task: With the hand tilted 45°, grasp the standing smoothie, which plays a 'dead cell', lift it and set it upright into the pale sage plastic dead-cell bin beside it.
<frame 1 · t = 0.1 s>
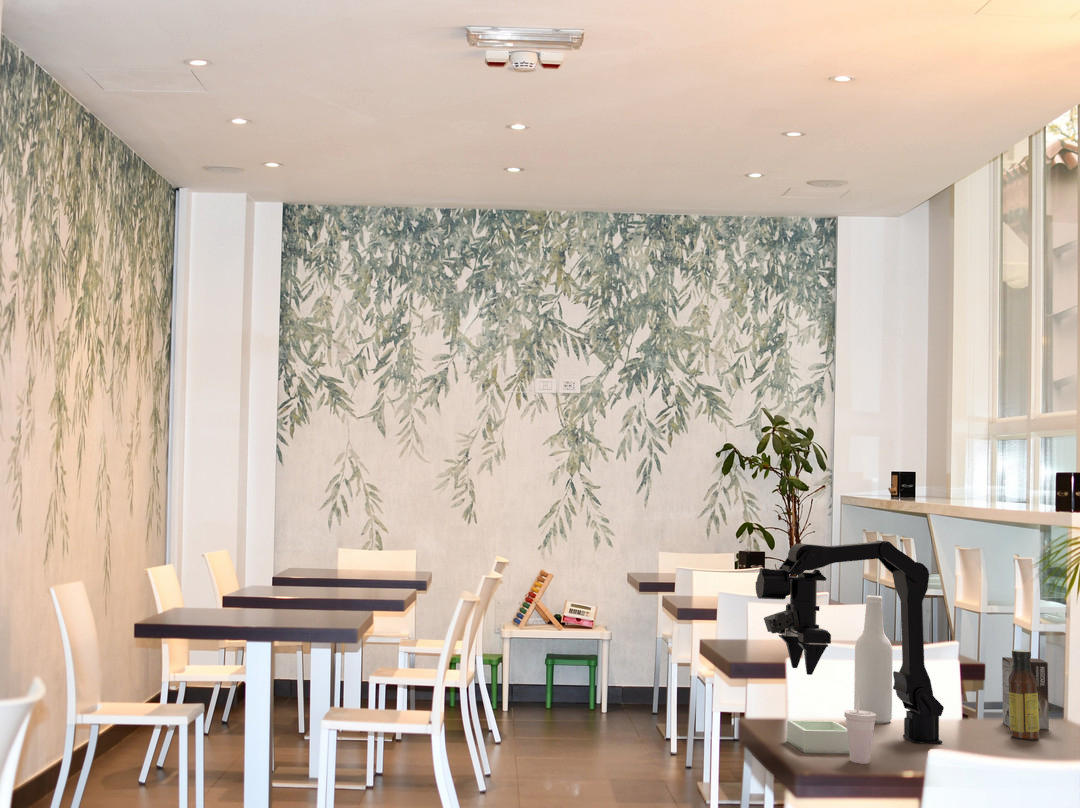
hand: (801, 671, 238), 15 cm above the table, tool pointing down, fingers open, 9 cm apart
smoothie: (859, 762, 218), on the table
dead-cell bin: (819, 747, 229), on the table
alcohol: (872, 721, 262), on the table
sauce bottle: (1023, 738, 248), on the table
coffee box: (1025, 727, 262), on the table
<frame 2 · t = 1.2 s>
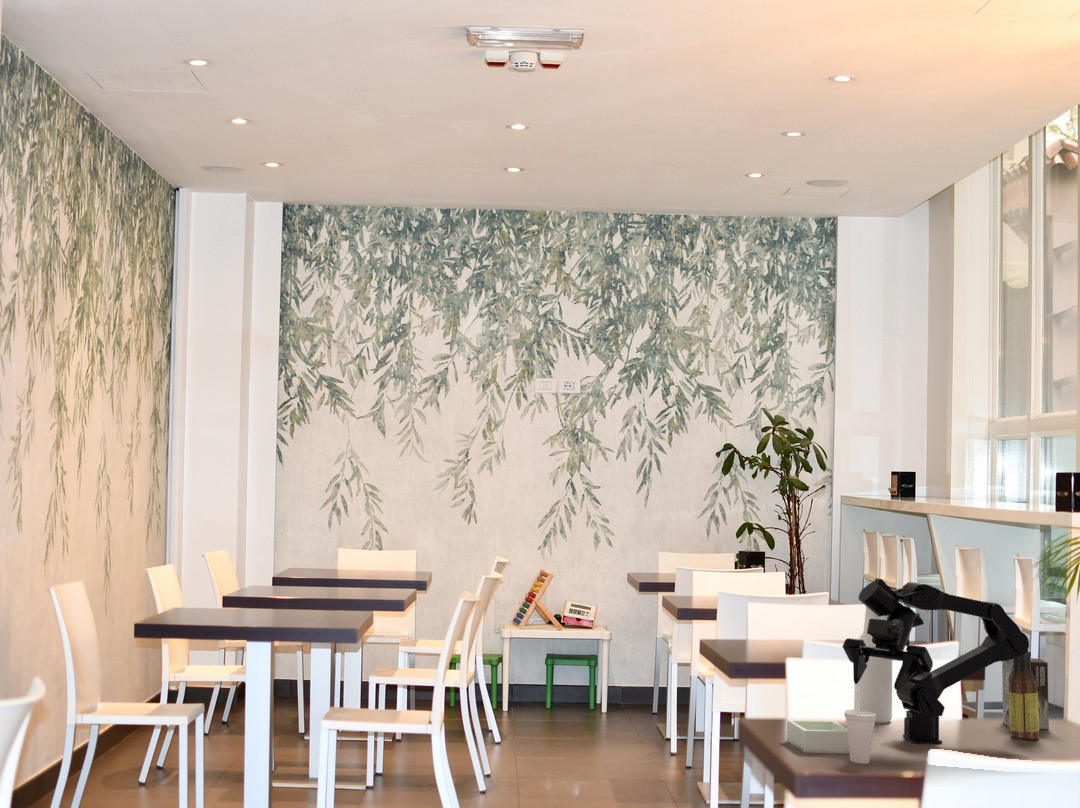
hand: (874, 685, 231), 13 cm above the table, tool tilted 45°, fingers open, 9 cm apart
nothing on the table moved.
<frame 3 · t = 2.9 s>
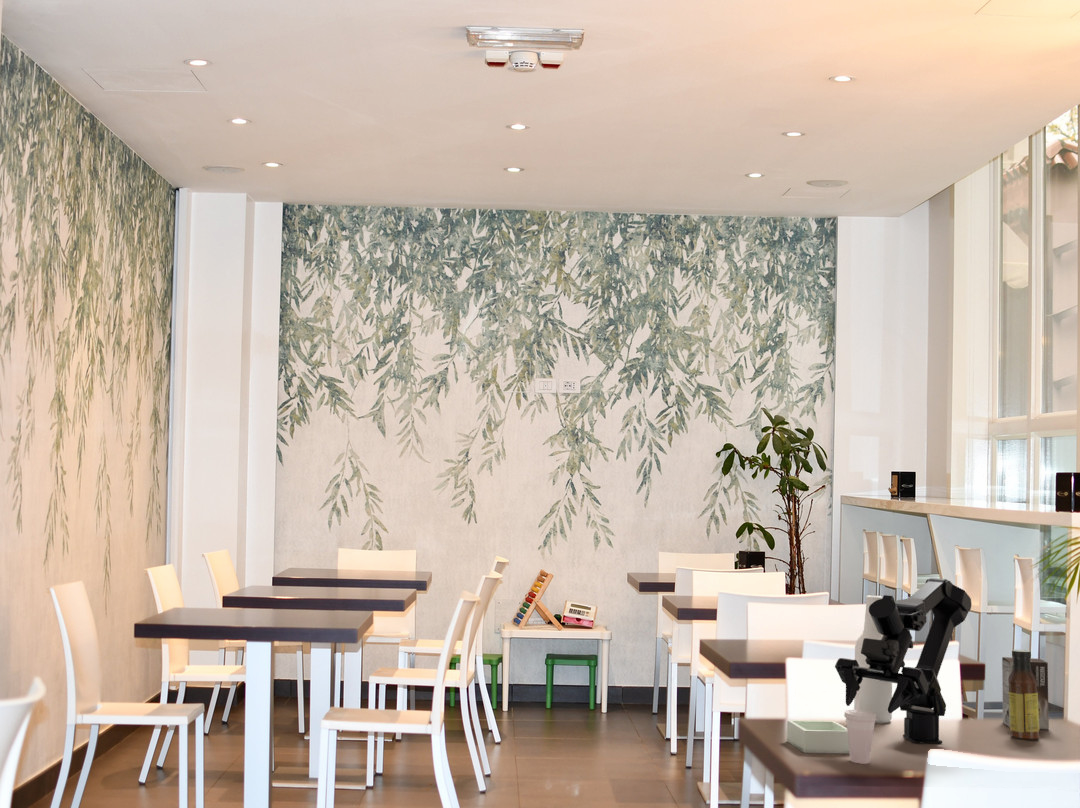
hand: (867, 708, 221), 10 cm above the table, tool tilted 45°, fingers open, 9 cm apart
nothing on the table moved.
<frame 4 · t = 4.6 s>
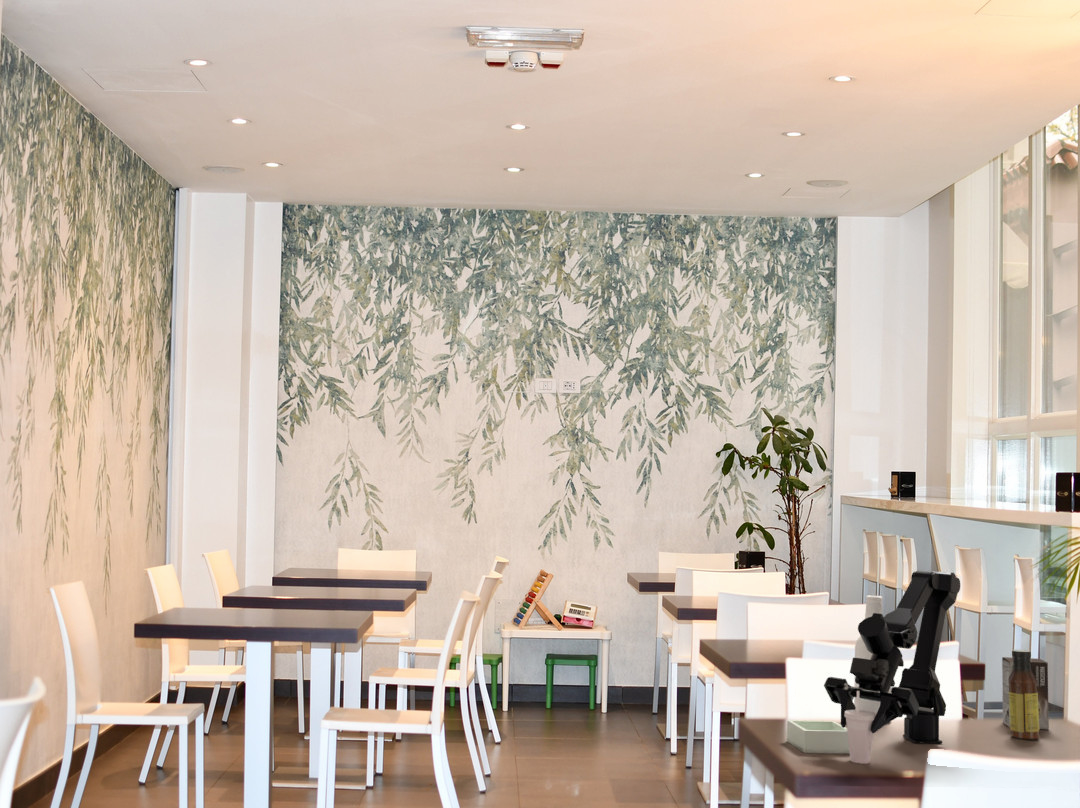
hand: (857, 729, 217), 7 cm above the table, tool tilted 45°, fingers closed on smoothie, 6 cm apart
smoothie: (859, 762, 218), on the table, touching gripper
everything else where it was.
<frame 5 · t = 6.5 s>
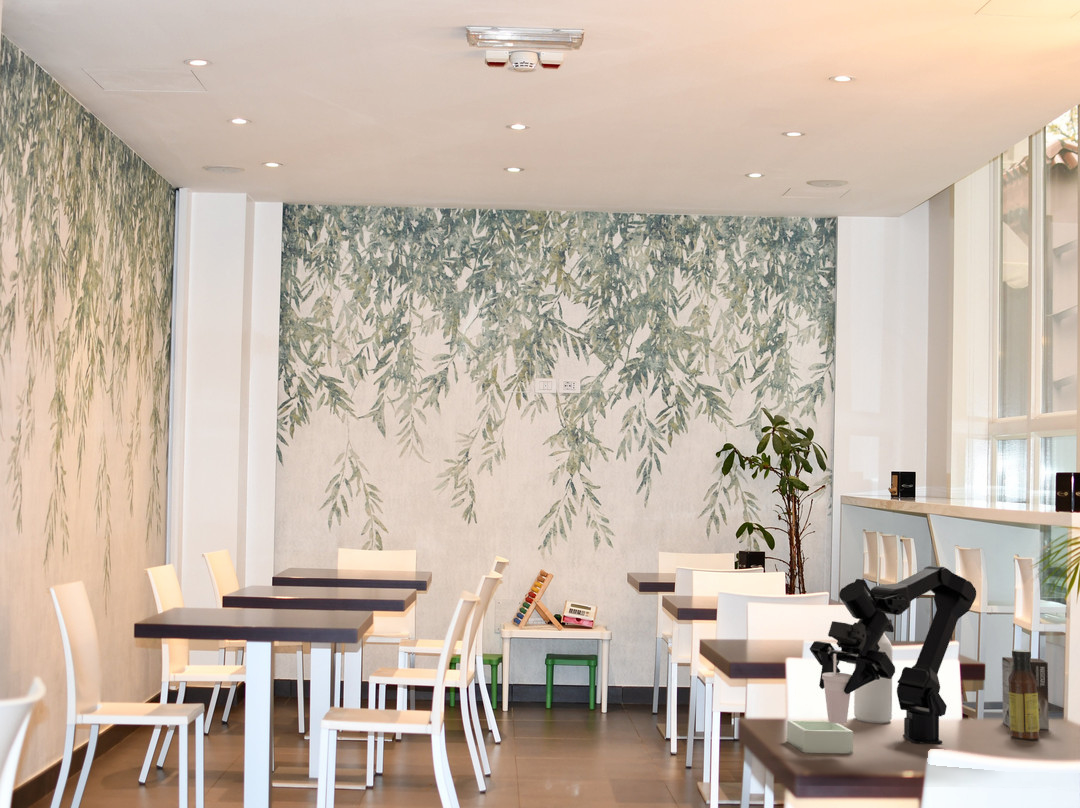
hand: (833, 690, 224), 13 cm above the table, tool tilted 45°, fingers closed on smoothie, 6 cm apart
smoothie: (837, 722, 224), point 6 cm above the table, touching gripper
everything else where it was.
when the fingers open (9 cm above the table, at t = 8.5 s): smoothie drops 2 cm, resting on dead-cell bin.
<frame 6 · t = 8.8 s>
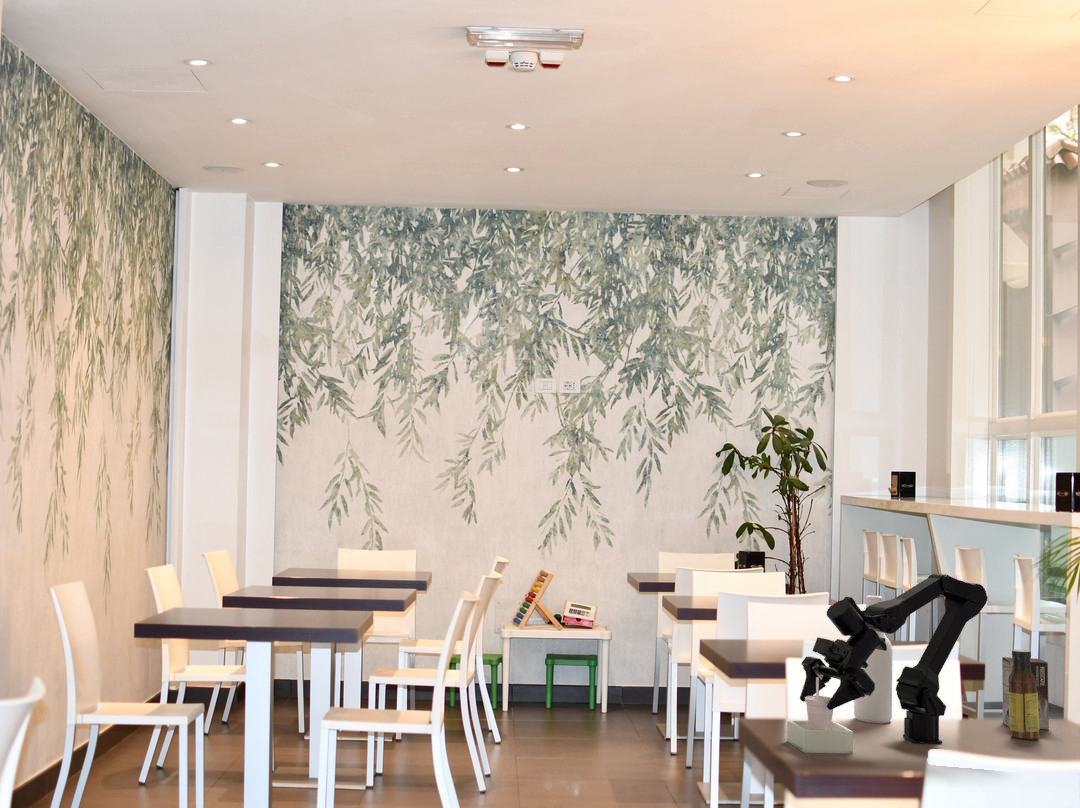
hand: (814, 704, 230), 9 cm above the table, tool tilted 45°, fingers open, 9 cm apart
smoothie: (819, 745, 229), resting on dead-cell bin
everything else where it was.
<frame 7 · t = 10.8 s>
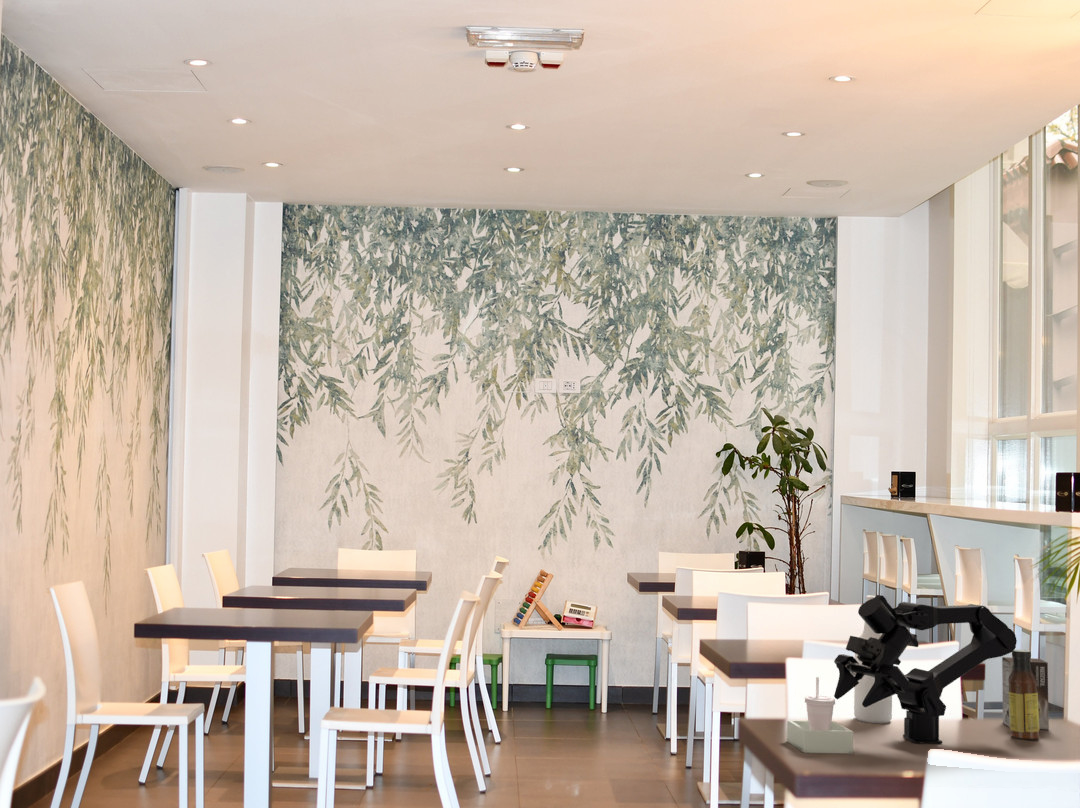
hand: (849, 701, 233), 9 cm above the table, tool tilted 45°, fingers open, 9 cm apart
nothing on the table moved.
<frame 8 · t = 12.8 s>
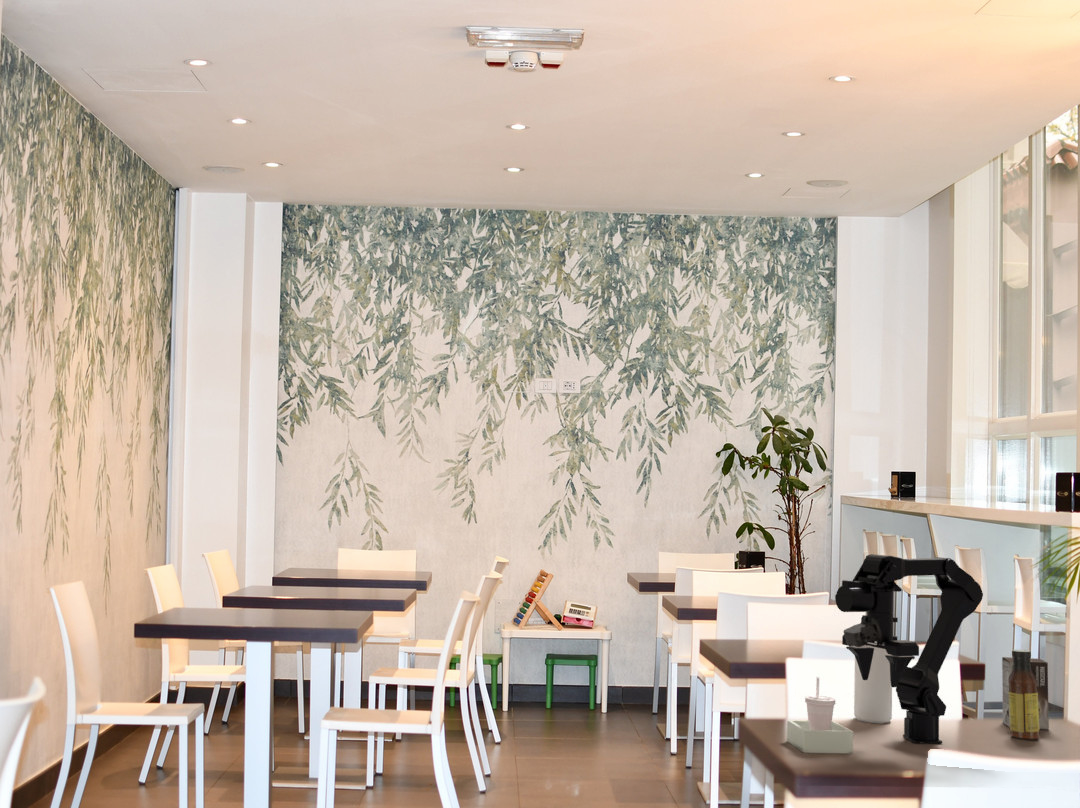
hand: (879, 683, 236), 13 cm above the table, tool pointing down, fingers open, 9 cm apart
nothing on the table moved.
at the end: smoothie 0.1 cm off-centre on the dead-cell bin, point 0.4 cm above the dead-cell bin's base; smoothie tilted 1°; the gripper is holding nothing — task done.
